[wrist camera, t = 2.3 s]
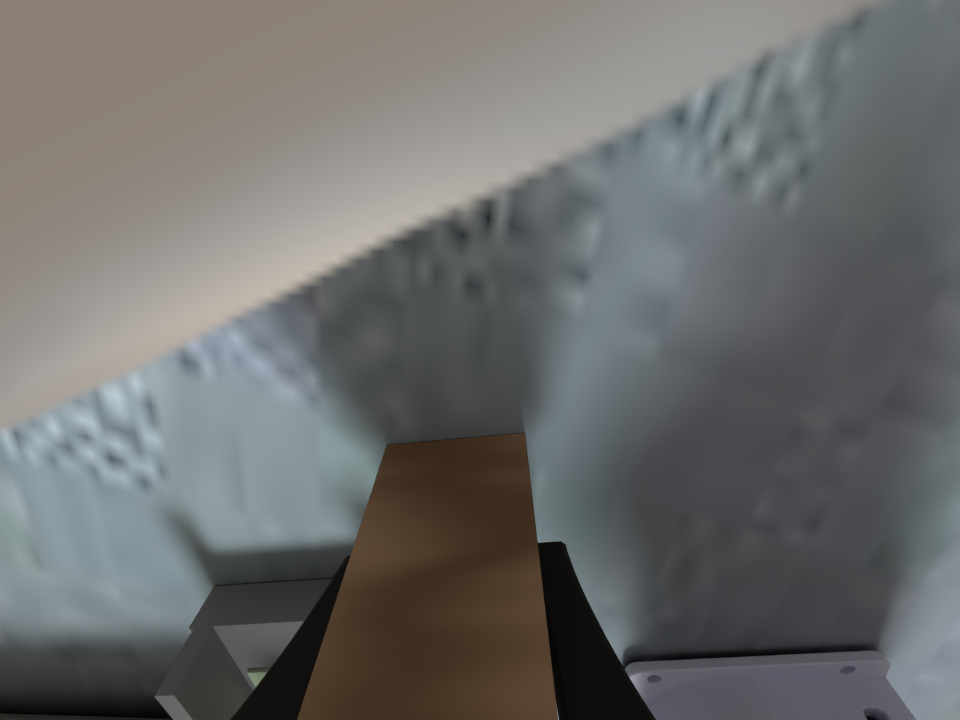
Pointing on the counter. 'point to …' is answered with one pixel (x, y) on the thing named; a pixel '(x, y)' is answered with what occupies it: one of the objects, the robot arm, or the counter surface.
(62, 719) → the tube
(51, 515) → the counter surface
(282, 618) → the grey open tray
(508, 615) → the walnut peg
